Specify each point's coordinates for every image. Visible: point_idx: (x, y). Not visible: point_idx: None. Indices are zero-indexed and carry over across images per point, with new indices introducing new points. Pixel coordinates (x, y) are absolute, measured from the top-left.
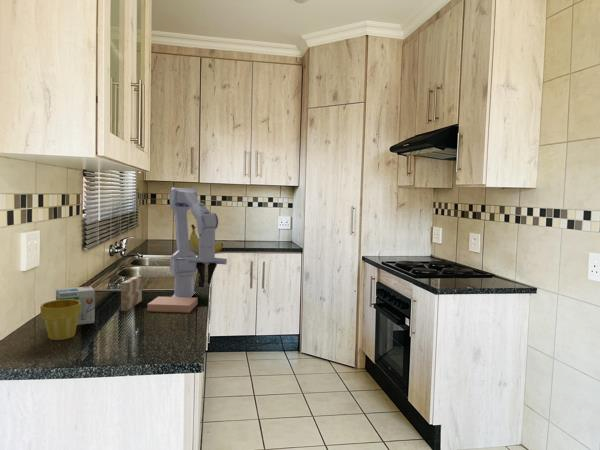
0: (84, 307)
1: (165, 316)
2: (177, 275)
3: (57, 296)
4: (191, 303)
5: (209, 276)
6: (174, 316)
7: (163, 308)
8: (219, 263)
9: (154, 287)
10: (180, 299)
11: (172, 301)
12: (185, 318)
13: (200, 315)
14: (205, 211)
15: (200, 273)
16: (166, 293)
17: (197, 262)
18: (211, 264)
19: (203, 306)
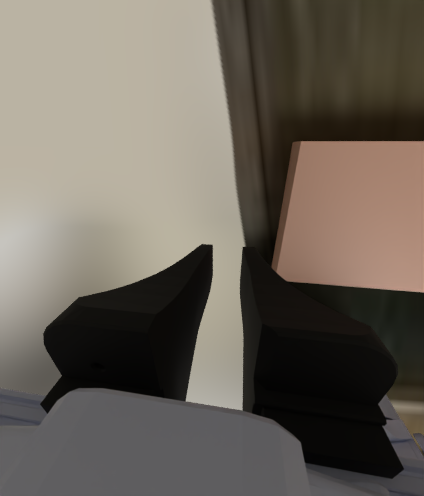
0: None
1: (421, 34)
2: (399, 422)
3: None
4: (293, 183)
5: (186, 261)
6: (367, 45)
7: None
8: (7, 401)
9: (412, 420)
10: (347, 251)
11: (389, 213)
12: (306, 7)
13: (237, 93)
14: None
15: (275, 281)
16: None
17: (380, 474)
18: (118, 387)
19: (246, 239)
